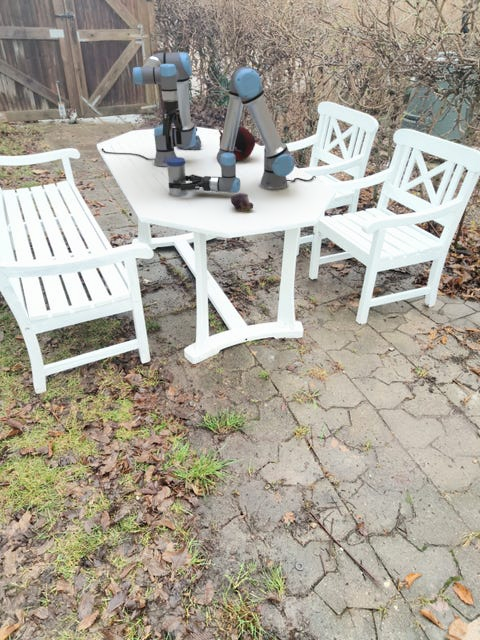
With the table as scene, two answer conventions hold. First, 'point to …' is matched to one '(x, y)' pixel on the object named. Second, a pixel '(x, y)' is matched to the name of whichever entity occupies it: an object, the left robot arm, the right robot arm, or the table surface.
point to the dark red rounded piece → (242, 144)
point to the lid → (175, 161)
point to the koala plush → (197, 143)
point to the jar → (177, 179)
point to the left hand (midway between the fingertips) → (174, 146)
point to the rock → (241, 202)
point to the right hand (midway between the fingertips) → (173, 181)
